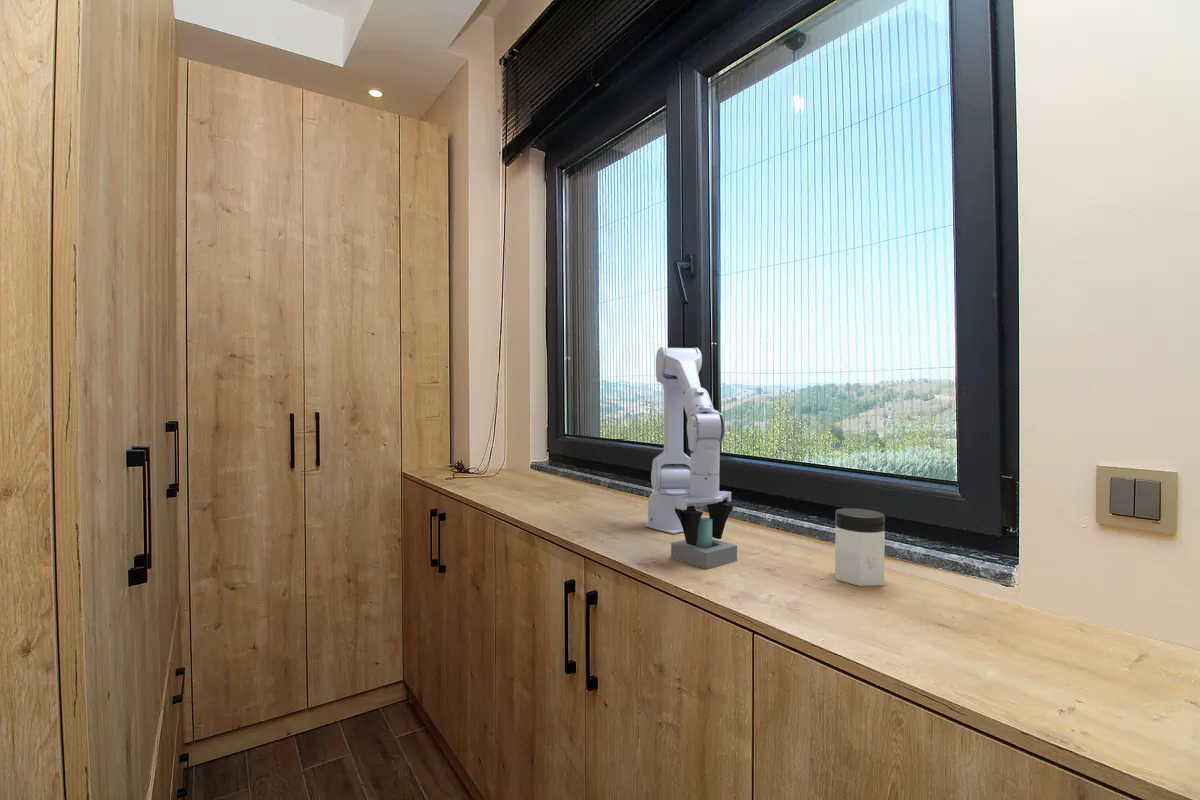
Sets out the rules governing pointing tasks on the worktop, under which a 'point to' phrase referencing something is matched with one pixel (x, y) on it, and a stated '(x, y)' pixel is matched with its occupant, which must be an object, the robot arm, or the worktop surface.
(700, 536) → the peg
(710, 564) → the socket block
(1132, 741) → the worktop surface
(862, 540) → the jar
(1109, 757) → the worktop surface
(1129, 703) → the worktop surface
